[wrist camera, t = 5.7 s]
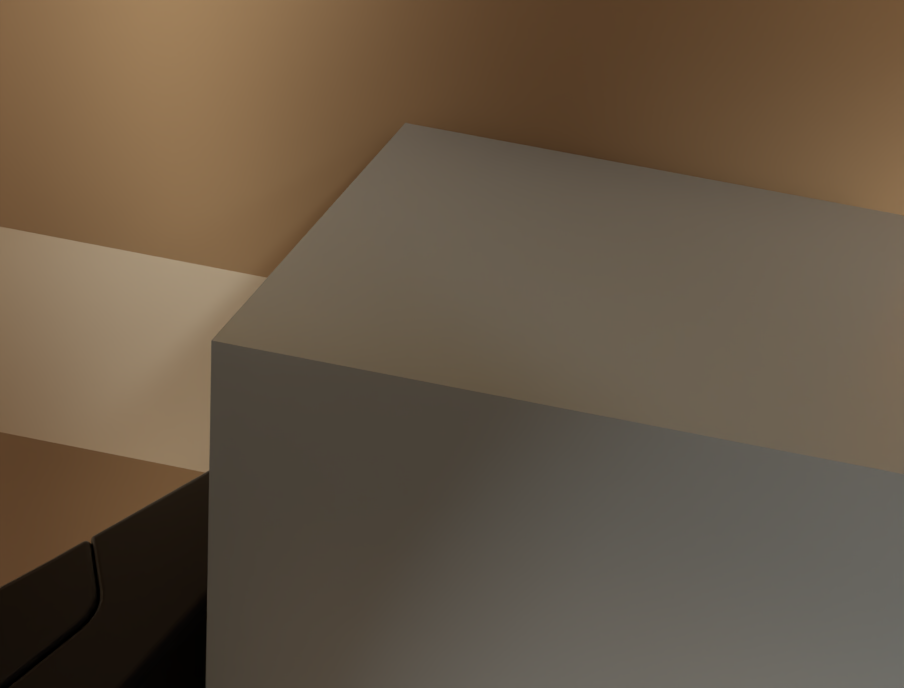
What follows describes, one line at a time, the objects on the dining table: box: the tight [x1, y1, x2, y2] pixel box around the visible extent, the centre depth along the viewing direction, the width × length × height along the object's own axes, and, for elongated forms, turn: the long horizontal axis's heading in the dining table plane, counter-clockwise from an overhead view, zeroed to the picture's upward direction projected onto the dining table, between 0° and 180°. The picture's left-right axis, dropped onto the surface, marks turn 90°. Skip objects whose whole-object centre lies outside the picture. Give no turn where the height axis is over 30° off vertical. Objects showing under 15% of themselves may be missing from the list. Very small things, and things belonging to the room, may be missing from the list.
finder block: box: [206, 123, 904, 688], centre depth 7 cm, size 5×7×5 cm
